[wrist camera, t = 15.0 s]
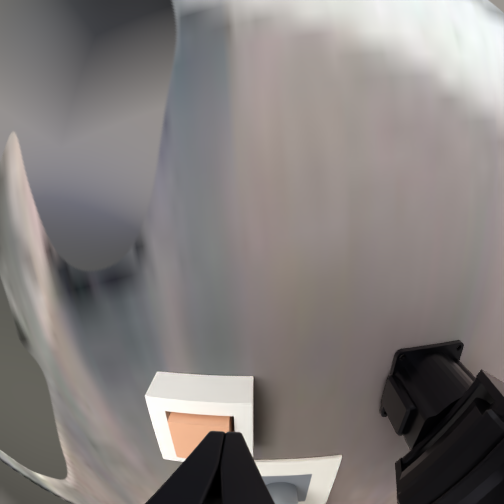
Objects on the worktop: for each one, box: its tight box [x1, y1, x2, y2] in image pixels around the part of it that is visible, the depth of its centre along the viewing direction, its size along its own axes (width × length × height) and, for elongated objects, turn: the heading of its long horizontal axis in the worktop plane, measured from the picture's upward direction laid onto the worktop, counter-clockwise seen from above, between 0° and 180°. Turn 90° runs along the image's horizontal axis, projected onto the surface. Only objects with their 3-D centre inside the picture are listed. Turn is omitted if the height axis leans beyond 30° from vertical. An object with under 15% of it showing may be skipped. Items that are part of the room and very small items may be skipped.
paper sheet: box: [254, 455, 342, 504], centre depth 23 cm, size 13×11×1 cm
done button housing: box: [145, 371, 254, 462], centre depth 19 cm, size 7×7×3 cm
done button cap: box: [167, 412, 234, 458], centre depth 19 cm, size 4×4×3 cm
